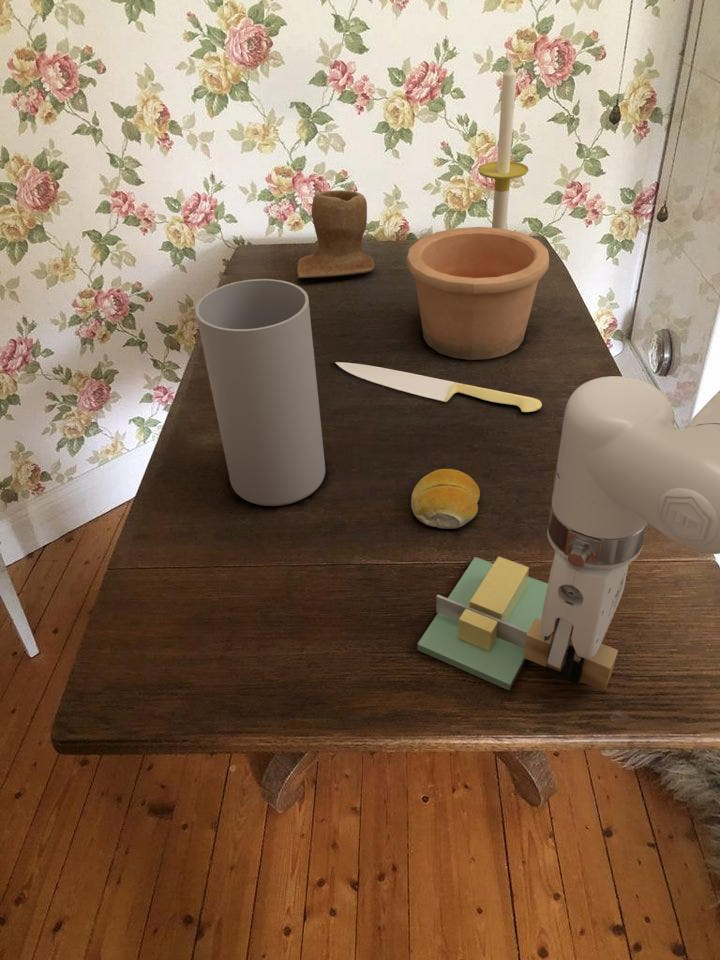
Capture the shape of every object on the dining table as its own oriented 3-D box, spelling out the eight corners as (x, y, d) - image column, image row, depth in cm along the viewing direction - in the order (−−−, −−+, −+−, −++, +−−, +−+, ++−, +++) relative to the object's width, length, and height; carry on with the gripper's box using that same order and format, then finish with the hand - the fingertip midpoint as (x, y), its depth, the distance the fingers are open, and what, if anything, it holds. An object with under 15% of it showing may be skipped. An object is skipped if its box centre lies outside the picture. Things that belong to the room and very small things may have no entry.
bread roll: (481, 486, 96) (482, 461, 93) (474, 534, 89) (476, 508, 87) (416, 480, 97) (416, 455, 95) (406, 526, 91) (405, 501, 88)
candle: (471, 268, 146) (481, 49, 122) (523, 270, 144) (544, 48, 120) (466, 291, 139) (476, 63, 115) (521, 293, 137) (543, 62, 113)
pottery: (401, 367, 119) (399, 282, 110) (415, 303, 136) (415, 225, 127) (541, 372, 116) (551, 285, 107) (537, 306, 132) (546, 226, 123)
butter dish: (559, 594, 81) (564, 568, 79) (509, 690, 72) (512, 665, 70) (474, 562, 86) (476, 537, 83) (417, 650, 77) (417, 624, 74)
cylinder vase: (305, 517, 93) (281, 337, 77) (214, 499, 96) (174, 323, 80) (339, 457, 102) (324, 284, 86) (255, 442, 105) (226, 274, 89)
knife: (326, 377, 119) (340, 359, 122) (533, 425, 106) (544, 403, 109) (324, 371, 119) (339, 353, 121) (533, 418, 105) (544, 397, 108)
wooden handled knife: (612, 673, 72) (618, 649, 69) (604, 691, 70) (610, 668, 68) (441, 603, 79) (442, 580, 77) (431, 619, 78) (431, 596, 75)
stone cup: (370, 255, 153) (367, 180, 144) (377, 280, 144) (374, 201, 135) (296, 261, 153) (288, 186, 143) (298, 287, 143) (290, 208, 134)
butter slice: (496, 640, 76) (498, 621, 74) (489, 651, 75) (491, 632, 73) (464, 627, 77) (465, 608, 75) (457, 638, 76) (458, 619, 74)
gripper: (612, 608, 54) (578, 748, 66) (669, 481, 64) (631, 621, 76) (514, 571, 57) (498, 711, 69) (583, 456, 67) (559, 594, 79)
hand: (568, 663), depth 72 cm, fingers closed on wooden handled knife, 2 cm apart
